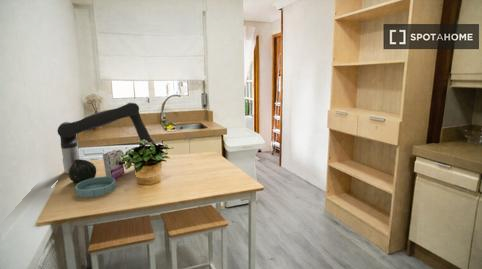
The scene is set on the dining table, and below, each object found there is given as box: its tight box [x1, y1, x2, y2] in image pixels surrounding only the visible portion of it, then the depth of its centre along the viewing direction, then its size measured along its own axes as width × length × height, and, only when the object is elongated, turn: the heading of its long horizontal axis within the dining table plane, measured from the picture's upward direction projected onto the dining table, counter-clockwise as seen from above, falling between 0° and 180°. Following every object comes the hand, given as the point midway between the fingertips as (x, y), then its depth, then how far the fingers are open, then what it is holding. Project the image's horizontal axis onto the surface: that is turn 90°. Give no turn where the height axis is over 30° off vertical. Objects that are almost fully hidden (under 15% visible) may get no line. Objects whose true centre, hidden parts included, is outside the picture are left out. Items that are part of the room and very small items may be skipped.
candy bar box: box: [102, 149, 125, 180], centre depth 182 cm, size 11×5×16 cm, turn 161°
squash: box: [68, 158, 97, 184], centre depth 177 cm, size 14×15×15 cm
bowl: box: [74, 176, 117, 199], centre depth 164 cm, size 20×20×4 cm
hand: (114, 163), depth 182 cm, fingers open, 8 cm apart
